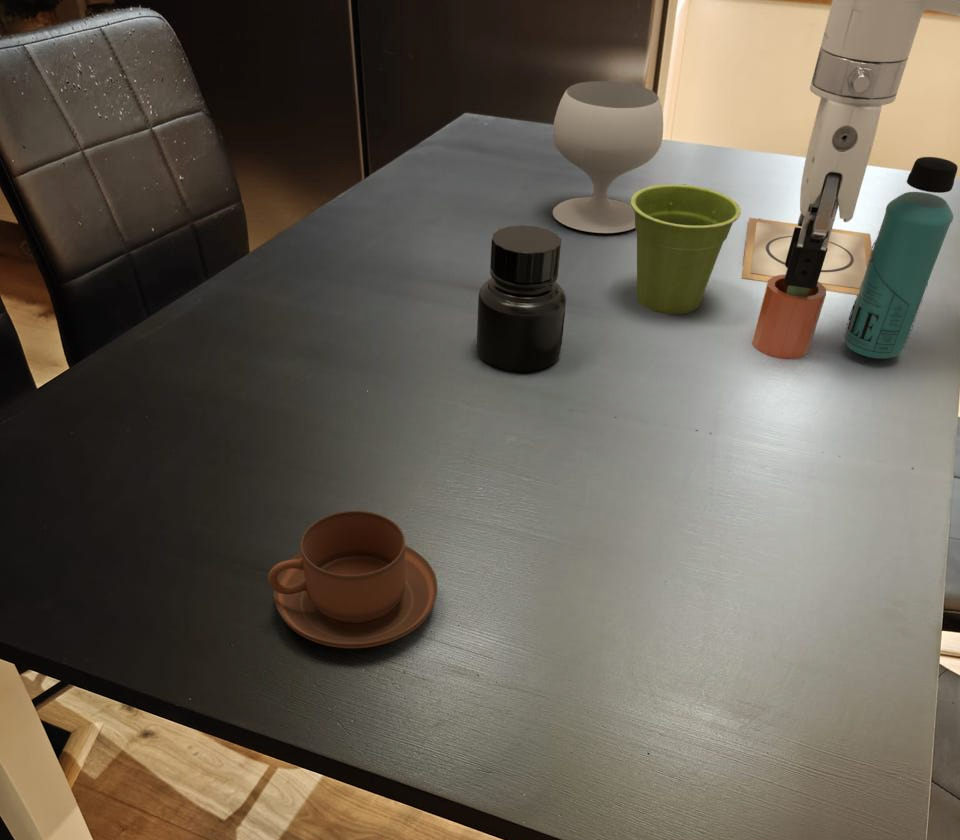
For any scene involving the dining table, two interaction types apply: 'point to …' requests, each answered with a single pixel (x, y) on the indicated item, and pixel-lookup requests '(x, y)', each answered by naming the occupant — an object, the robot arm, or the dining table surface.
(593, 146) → the chalice
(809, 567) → the dining table surface
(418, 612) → the cup and saucer
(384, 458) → the dining table surface
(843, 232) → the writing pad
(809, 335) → the pen cup
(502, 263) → the ink bottle
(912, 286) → the beverage bottle
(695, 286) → the plant pot
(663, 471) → the dining table surface
